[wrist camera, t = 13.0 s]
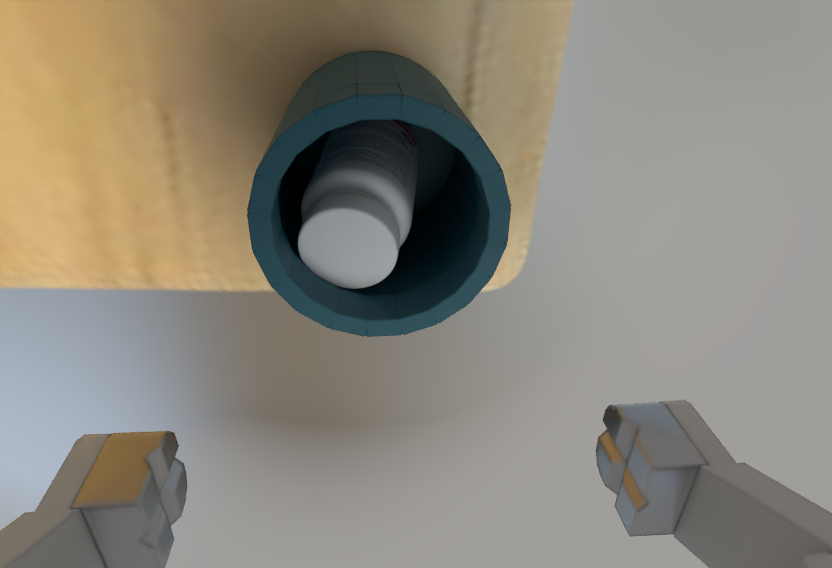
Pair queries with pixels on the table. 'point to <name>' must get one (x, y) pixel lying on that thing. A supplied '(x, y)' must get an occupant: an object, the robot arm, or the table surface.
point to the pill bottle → (359, 203)
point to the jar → (433, 204)
